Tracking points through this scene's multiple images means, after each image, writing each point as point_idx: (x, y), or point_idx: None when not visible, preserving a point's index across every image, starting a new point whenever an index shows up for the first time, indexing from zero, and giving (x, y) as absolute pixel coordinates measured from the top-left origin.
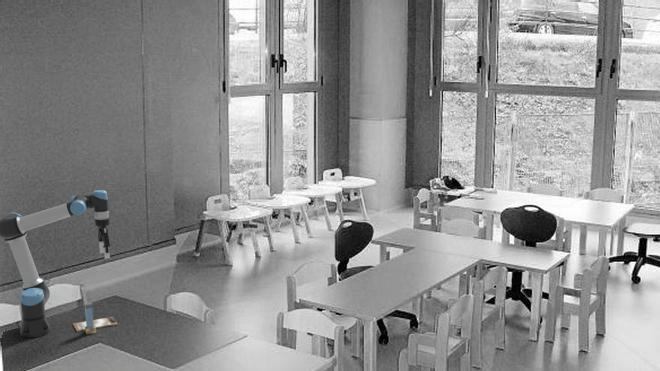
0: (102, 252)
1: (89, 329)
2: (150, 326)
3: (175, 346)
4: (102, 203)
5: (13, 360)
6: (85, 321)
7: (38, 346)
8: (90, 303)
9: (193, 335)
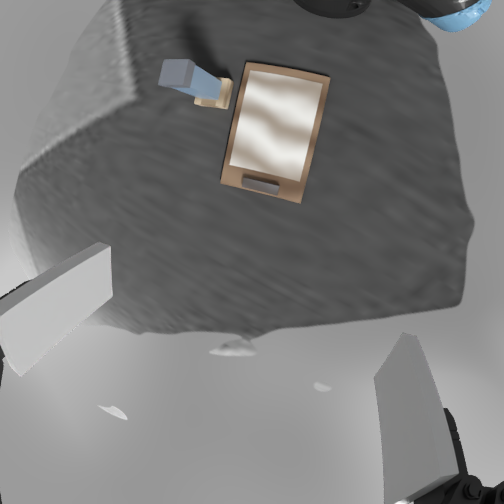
0: (388, 361)
1: None
2: (159, 245)
3: (54, 223)
4: None
5: None
6: (319, 114)
7: None
8: (170, 80)
9: None
